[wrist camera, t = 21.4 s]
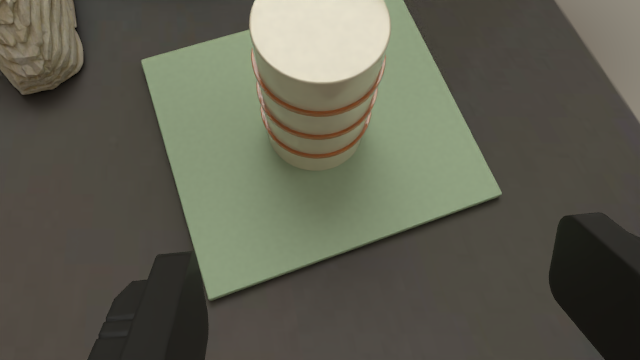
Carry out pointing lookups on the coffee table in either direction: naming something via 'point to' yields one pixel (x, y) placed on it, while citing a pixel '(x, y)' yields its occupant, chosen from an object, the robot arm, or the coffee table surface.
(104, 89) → the coffee table surface
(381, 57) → the banded jar
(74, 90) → the coffee table surface
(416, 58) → the mat
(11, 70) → the fossil tooth
